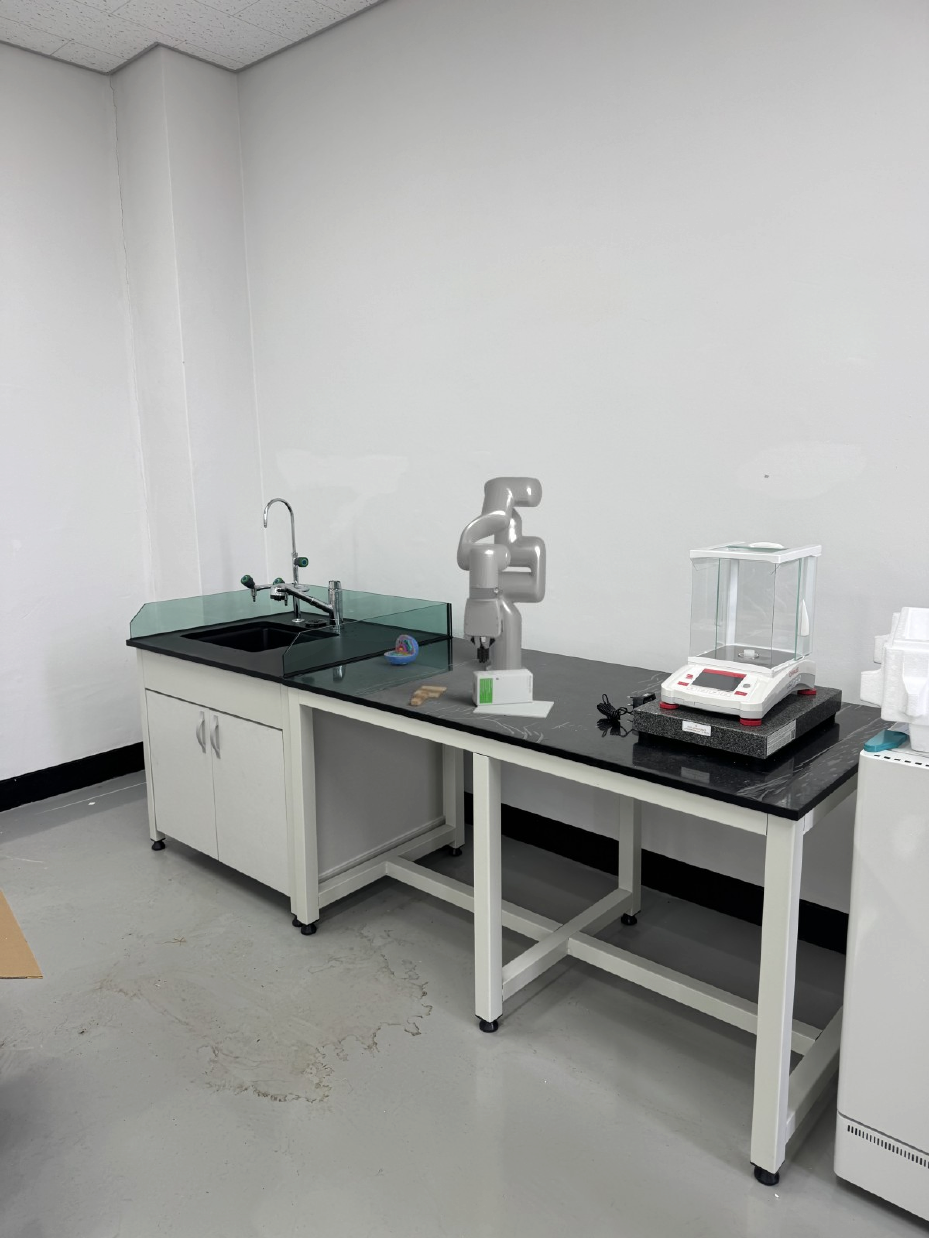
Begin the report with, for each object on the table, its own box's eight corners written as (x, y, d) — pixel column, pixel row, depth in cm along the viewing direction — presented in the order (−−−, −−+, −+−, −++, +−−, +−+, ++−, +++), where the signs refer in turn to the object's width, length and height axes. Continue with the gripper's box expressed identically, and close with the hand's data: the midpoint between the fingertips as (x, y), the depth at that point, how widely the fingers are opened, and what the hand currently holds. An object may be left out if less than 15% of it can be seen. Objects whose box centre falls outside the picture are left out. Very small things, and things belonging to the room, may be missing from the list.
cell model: (377, 664, 283) (377, 635, 281) (406, 659, 291) (406, 631, 289) (396, 669, 276) (396, 640, 274) (425, 664, 284) (425, 635, 282)
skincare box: (476, 676, 230) (533, 672, 233) (471, 670, 237) (527, 667, 239) (477, 707, 232) (533, 703, 235) (472, 700, 238) (527, 696, 241)
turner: (423, 687, 254) (423, 683, 253) (446, 689, 252) (446, 685, 252) (402, 704, 234) (402, 700, 234) (426, 706, 233) (426, 701, 233)
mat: (485, 698, 241) (485, 697, 240) (553, 703, 236) (553, 701, 236) (472, 713, 226) (472, 711, 226) (545, 718, 222) (545, 716, 222)
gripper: (514, 592, 230) (513, 660, 233) (459, 590, 233) (459, 657, 236) (508, 596, 223) (508, 666, 226) (452, 594, 226) (452, 663, 229)
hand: (483, 661), depth 231 cm, fingers closed
